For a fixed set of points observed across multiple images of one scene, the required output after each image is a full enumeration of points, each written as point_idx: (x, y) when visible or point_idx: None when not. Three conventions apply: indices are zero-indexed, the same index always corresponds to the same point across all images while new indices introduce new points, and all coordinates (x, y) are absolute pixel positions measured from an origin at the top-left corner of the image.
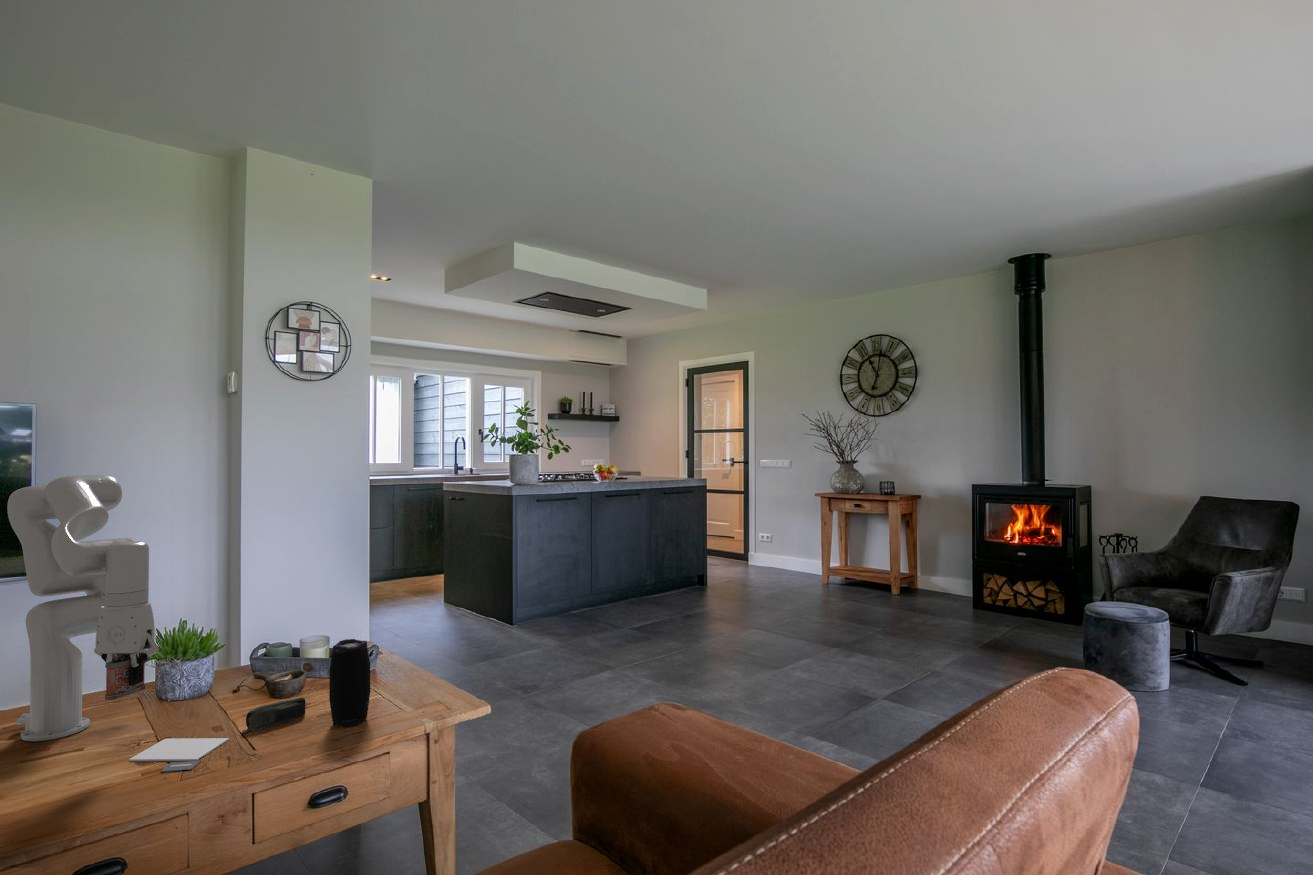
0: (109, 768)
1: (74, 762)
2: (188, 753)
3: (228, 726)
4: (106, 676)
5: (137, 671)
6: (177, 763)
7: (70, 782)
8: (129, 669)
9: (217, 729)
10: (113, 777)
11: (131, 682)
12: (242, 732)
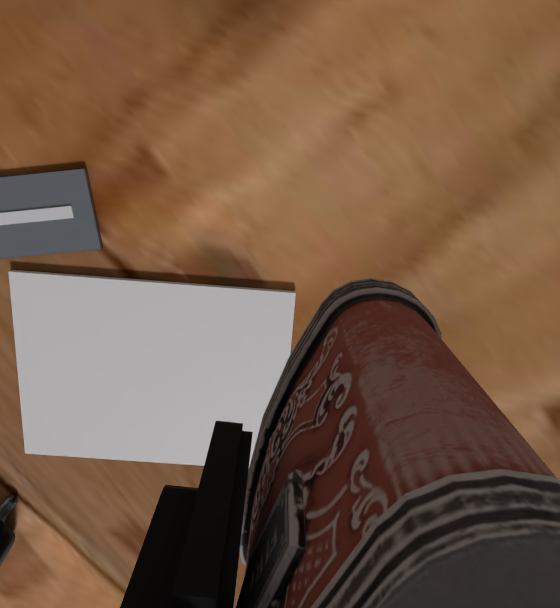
0: (330, 230)
1: (510, 300)
2: (86, 327)
3: (120, 562)
4: (504, 415)
5: (140, 567)
6: (66, 239)
7: (406, 105)
8: (216, 565)
9: (143, 541)
10: (254, 139)
11: (213, 438)
12: (9, 497)
